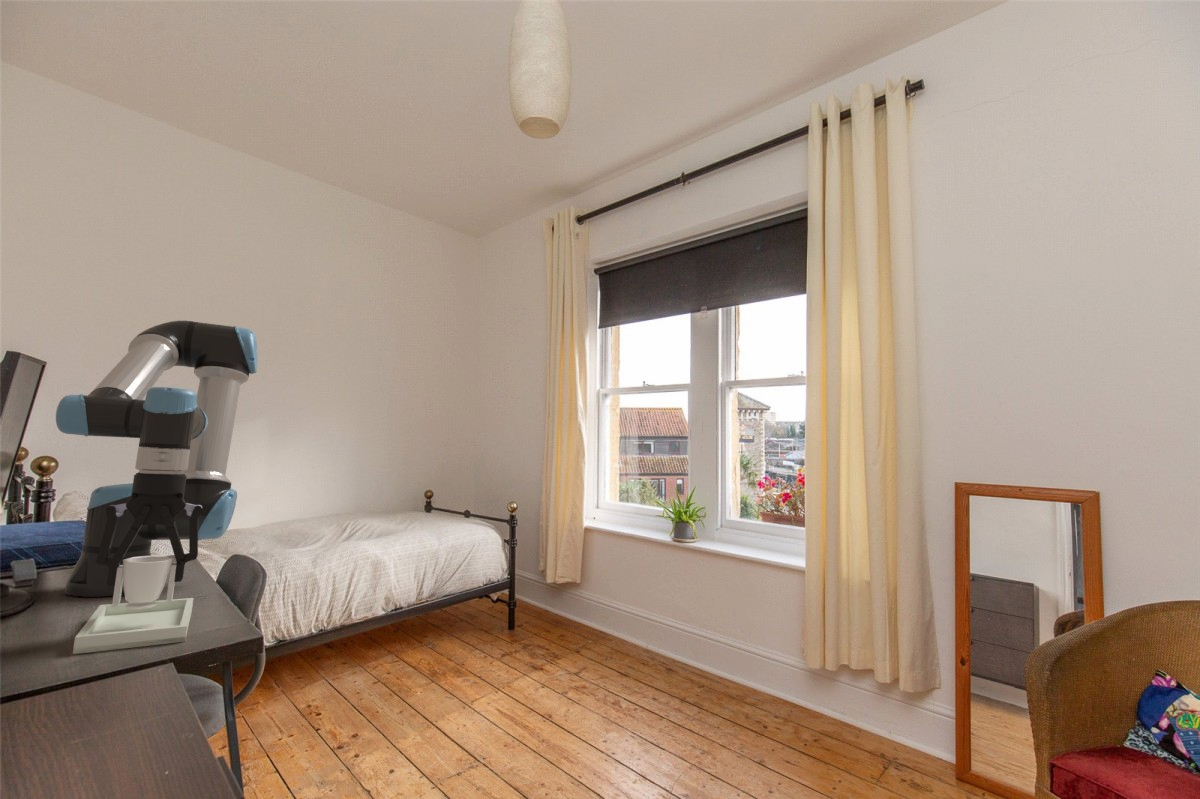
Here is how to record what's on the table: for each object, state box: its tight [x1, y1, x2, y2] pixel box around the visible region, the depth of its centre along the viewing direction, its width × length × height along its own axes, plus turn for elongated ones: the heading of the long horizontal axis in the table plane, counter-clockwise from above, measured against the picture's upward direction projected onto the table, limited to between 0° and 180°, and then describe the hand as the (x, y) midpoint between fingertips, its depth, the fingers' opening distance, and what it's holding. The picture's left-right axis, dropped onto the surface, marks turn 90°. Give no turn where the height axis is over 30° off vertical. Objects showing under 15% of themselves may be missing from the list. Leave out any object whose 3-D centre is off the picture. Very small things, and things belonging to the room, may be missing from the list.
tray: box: [72, 597, 194, 655], centre depth 97 cm, size 20×14×2 cm
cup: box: [123, 555, 174, 609], centre depth 98 cm, size 7×10×8 cm
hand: (143, 602), depth 97 cm, fingers closed on cup, 7 cm apart
